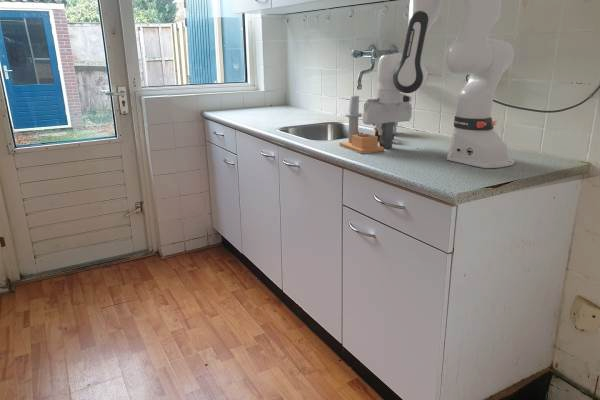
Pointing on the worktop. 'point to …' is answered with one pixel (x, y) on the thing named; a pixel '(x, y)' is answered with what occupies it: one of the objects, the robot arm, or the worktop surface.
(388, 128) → the grey upright block
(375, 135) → the pottery mug
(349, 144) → the wooden stepped base
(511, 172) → the worktop surface
